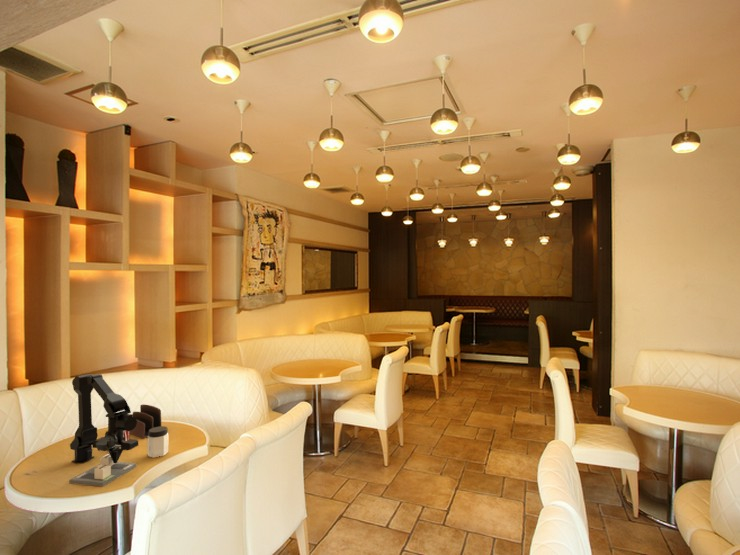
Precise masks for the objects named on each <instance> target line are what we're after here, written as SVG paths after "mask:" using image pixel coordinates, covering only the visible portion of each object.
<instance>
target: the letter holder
mask: <svg viewBox="0 0 740 555" xmlns="http://www.w3.org/2000/svg"><path fill="white" fill-rule="evenodd" d="M139 410H140V411H133V412H132V415H133V417H134V418H135V419H136V420H137V425H136V427H135V428H134V429H133V430H131V431H129V435H132V436H134V437H135V436H136V437H139V438H141V439H144V440H145V439H148V436H149V434H148V433H149V430H150V429H152V428H154V427H160V426H162V410H161V409H160V408H158V407H156V406H153V405H150V404H140V409H139Z"/></svg>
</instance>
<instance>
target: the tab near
mask: <svg viewBox="0 0 740 555" xmlns="http://www.w3.org/2000/svg"><path fill="white" fill-rule="evenodd" d="M110 475H111V465H101V466H99V467H97V468H96V469H95V474H94V479H102V480H103V479H105V478H107V477H108V476H110Z"/></svg>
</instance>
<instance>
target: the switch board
mask: <svg viewBox="0 0 740 555" xmlns="http://www.w3.org/2000/svg"><path fill="white" fill-rule="evenodd" d="M99 466H100V463H99V464H97V465H95V466H93V467H91V468H89V469H87V470H85V471H83V472H81V473H79V474H77V475H76V476H73V477H71V478H70V479H69V483H68V484H73V485H83V486H84V485H85V486H93V487H94V486H95V487H104V486H106V485H108V484H110V483H112V482H113V481H115V480H116V479H118V478H120V477H121V476H124V475H126V474H127V473H128V472H130V471H132V470H134V469H135V468H137V463H135V462H134V463H133V462H122V461H117V463H116V464H114V465H112V466H111V475H110V476H108V477H107V478H105V479H103V480H102V479H94V474H95V469H96V468H97V467H99Z"/></svg>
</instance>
